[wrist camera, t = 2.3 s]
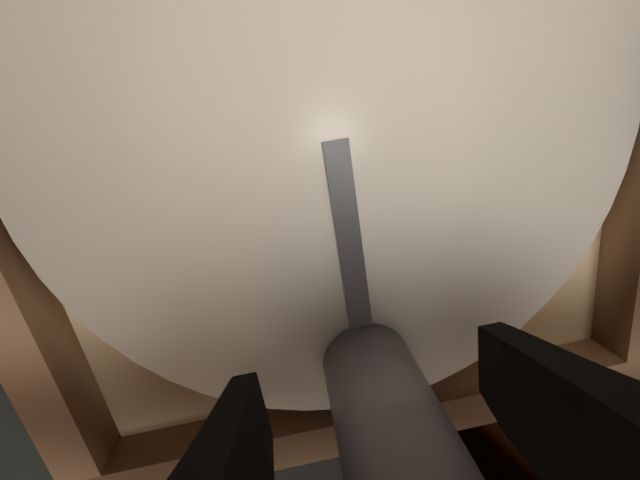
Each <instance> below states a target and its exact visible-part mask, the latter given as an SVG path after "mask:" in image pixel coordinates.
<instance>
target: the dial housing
mask: <svg viewBox="0 0 640 480" xmlns="http://www.w3.org/2000/svg"><path fill="white" fill-rule="evenodd" d="M520 330H522V331H525V332H527V333H529V334H531V335H534V336H536V337H538V338H541V339H543V340H545V341H547V342H550V343H552V344H554V345H556V346H559V347H561V348H563V349H565V350H568V351H570V352H572V353H574V354H577V355H579V356H581V357H584V358H586V359H588V360H591V361H593V362H595V363H598V364H600V365H602V366H605V367H607V368H610V369H612V370H615V371H617V372H620V373H622V374H624V375H627V376H630V377H632V378H635V379H637V380H640V123H639V128H638V132H637V136H636V139H635V143H634V146H633V150H632V153H631V156H630V160H629V163H628V167H627V170H626V173H625V175H624V177H623V180H622V182H621V185H620V187H619V190H618V192H617V194H616V197H615V199H614V202H613V204H612V207H611V209H610V211H609V213H608V214H607V216H606V218H605V220H604V222H603V224H602V226H601V228H600V229H599V231H598V233H597V235H596V237H595V239H594V241H593V242H592V244H591V245H590V247H589V248H588V250H587V251H586V253H585V254H584V256H583V257H582V259H581V260H580V262H579V263H578V265H577V266H576V268H575V269H574V271H573V272H572V274H571V275H570V276H569V277H568V278H567V280H566V281H565V282H564V283H563V284H562V286H561V287H560V288H559V289H558V290H557V292H556V293H555V294H554V295H553V296H552V298H551V299H550V300H549V301H548V302H547V303H546V304H545V305H544V306H543V307H542V308H541V309H540V310H539V311H538V312H537V313H536V314H535V315H534V316H533V317H532V318H531V319H530V320H529V321H528V322H527V323H526V324H525V325H524V326H523V327H522V328H521V329H520ZM0 383H1V385H2V387H3V389H4V391H5V392H6V394H7V396H8V398H9V400H10V401H11V403H12V405H13V407H14V409H15V410H16V412H17V414H18V416H19V418H20V420H21V421H22V423H23V425H24V427H25V429H26V430H27V432H28V434H29V436H30V438H31V440H32V441H33V443H34V445H35V447H36V449H37V450H38V452H39V454H40V456H41V458H42V460H43V461H44V463H45V465H46V467H47V469H48V470H49V472H50V474H51V476H52V478H53V479H54V480H166V479H167V478H168V476H169V475H170V474H171V472H172V471H173V469H174V468H175V466H176V465H177V464H178V462H179V461H180V459H181V458H182V456H183V455H184V453H185V452H186V450H187V449H188V447H189V445H190V444H191V442H192V441H193V439H194V438H195V436H196V434H197V433H198V431H199V430H200V428H201V427H202V425H203V424H204V422H205V420H206V419H207V417H208V415H209V414H210V412H211V410H212V409H213V407H214V405H215V404H216V402H217V400H218V399H219V398H216V397H212V396H208V395H205V394H201V393H199V392H196V391H194V390H191V389H189V388H186V387H184V386H181V385H179V384H176V383H174V382H171V381H169V380H167V379H165V378H163V377H161V376H159V375H157V374H155V373H154V372H152V371H150V370H148V369H146V368H144V367H142V366H141V365H139V364H137V363H135V362H133V361H132V360H130V359H129V358H127V357H126V356H124V355H123V354H122V353H120V352H119V351H117V350H116V349H114V348H113V347H111V346H110V345H109V344H107V343H106V342H104V341H103V340H101V339H100V338H99V337H98V336H97V335H95V334H94V333H93V332H92V331H91V330H90V329H89V328H87V327H86V326H85V325H84V324H83V323H82V322H81V321H79V320H78V319H77V318H76V317H75V316H74V315H73V314H72V313H70V312H69V311H68V310H67V309H66V307H65V306H64V305H63V304H62V303H61V302H60V301H59V300H58V299H57V297H56V296H55V295H54V294H53V293H52V292H51V291H50V290H49V289H48V288H47V286H46V285H45V284H44V283H43V282H42V281H41V280H40V279H39V277H38V276H37V274H36V273H35V272H34V270H33V269H32V267H31V266H30V264H29V263H28V262H27V260H26V259H25V257H24V256H23V255H22V253H21V252H20V250H19V249H18V248H17V246H16V245H15V243H14V242H13V240H12V238H11V237H10V235H9V233H8V231H7V229H6V227H5V225H4V224H3V222H2V220H1V218H0ZM430 386H431V388H432V390H433V391H434V393H435V395H436V396H437V398H438V400H439V402H440V403H441V405H442V407H443V408H444V410H445V412H446V414H447V415H448V417H449V419H450V420H451V422H452V424H453V426H454V427H455V429H456V431H459V430H463V429H468V428H472V427H477V426H482V425H486V424H491V423H495V422H497V421H496V419H495V417H494V416H493V414H492V412H491V411H490V409H489V407H488V405H487V404H486V402H485V400H484V398H483V397H482V395H481V393H480V391H479V375H478V360H477V361H475V362H474V363H472V364H471V365H469V366H468V367H466V368H464V369H462V370H460V371H458V372H456V373H454V374H452V375H450V376H448V377H446V378H444V379H442V380H440V381H438V382H436V383H434V384H432V385H430ZM266 410H267V414H268V418H269V421H270V425H271V429H272V433H273V451H274V471H278V470H282V469H287V468H291V467H296V466H300V465H305V464H309V463H314V462H318V461H323V460H327V459H332V458H337V457H339V453H338V448H337V442H336V436H335V431H334V425H333V420H332V414H331V409H328V410H309V411H301V410H283V409H269V408H266Z"/></svg>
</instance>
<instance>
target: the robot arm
mask: <svg viewBox="0 0 640 480" xmlns="http://www.w3.org/2000/svg"><path fill="white" fill-rule="evenodd" d="M478 375H479V391H480V393H481V395H482V397H483V398H484V400H485V402H486V404H487V405H488V407H489V409H490V411H491V412H492V414H493V416H494V417H495V419H496V421H497V422H498V424H499V425H500V427H501V429H502V430H503V431H504V433H505V434H506V435H507V437H508V438H509V440H510V441H511V442H512V444H513V445H514V446H515V448H516V449H517V450H518V452H519V453H520V454H521V456H522V457H523V458H524V460H525V461H526V462H527V464H528V465H529V466H530V468H531V469H532V470H533V472H534V473H535V474H536V476H537V477H538V478H539V479H540V480H640V380H637V379H635V378H632V377H630V376H627V375H624V374H622V373H620V372H617V371H615V370H612V369H610V368H607V367H605V366H602V365H600V364H598V363H595V362H593V361H591V360H588V359H586V358H584V357H581V356H579V355H577V354H574V353H572V352H570V351H568V350H565V349H563V348H561V347H559V346H556V345H554V344H552V343H550V342H547V341H545V340H543V339H541V338H538V337H536V336H534V335H531V334H529V333H527V332H525V331H522V330H520V329H518V328H515V327H513V326H510V325H508V324H505V323H502V322H496V323H491V324H486V325H482V326H478ZM166 480H274V451H273V433H272V429H271V425H270V421H269V418H268V414H267V410H266V406H265V402H264V399H263V395H262V391H261V387H260V383H259V380H258V376H257V372H252V373H247V374H242V375H238V376H233V377H232V378H231V379H230V380H229V382H228V383H227V385H226V387H225V389H224V390H223V392H222V394H221V395H220V397H219V399H218V400H217V402H216V404H215V405H214V407H213V409H212V410H211V412H210V414H209V415H208V417H207V419H206V420H205V422H204V424H203V425H202V427H201V428H200V430H199V431H198V433H197V434H196V436H195V438H194V439H193V441H192V442H191V444H190V445H189V447H188V449H187V450H186V452H185V453H184V455H183V456H182V458H181V459H180V461H179V462H178V464H177V465H176V466H175V468H174V469H173V471H172V472H171V474H170V475H169V476H168V478H167V479H166Z"/></svg>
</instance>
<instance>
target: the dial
mask: <svg viewBox="0 0 640 480" xmlns="http://www.w3.org/2000/svg"><path fill="white" fill-rule="evenodd" d="M639 123H640V0H0V218H1V220H2V222H3V224H4V225H5V227H6V229H7V231H8V233H9V235H10V237H11V238H12V240H13V242H14V243H15V245H16V246H17V248H18V249H19V250H20V252H21V253H22V255H23V256H24V257H25V259H26V260H27V262H28V263H29V264H30V266H31V267H32V269H33V270H34V272H35V273H36V274H37V276H38V277H39V279H40V280H41V281H42V282H43V283H44V284H45V285H46V286H47V288H48V289H49V290H50V291H51V292H52V293H53V294H54V295H55V296H56V297H57V299H58V300H59V301H60V302H61V303H62V304H63V305H64V306H65V307H66V309H67V310H68V311H69V312H70V313H72V314H73V315H74V316H75V317H76V318H77V319H78V320H79V321H81V322H82V323H83V324H84V325H85V326H86V327H87V328H89V329H90V330H91V331H92V332H93V333H94V334H95V335H97V336H98V337H99V338H100V339H101V340H103V341H104V342H106V343H107V344H109V345H110V346H111V347H113V348H114V349H116V350H117V351H119V352H120V353H122V354H123V355H124V356H126V357H127V358H129V359H130V360H132V361H133V362H135V363H137V364H139V365H141V366H142V367H144V368H146V369H148V370H150V371H152V372H154V373H155V374H157V375H159V376H161V377H163V378H165V379H167V380H169V381H171V382H174V383H176V384H179V385H181V386H184V387H186V388H189V389H191V390H194V391H196V392H199V393H201V394H205V395H208V396H212V397H216V398H219V397H220V395H221V394H222V392H223V390H224V389H225V387H226V385H227V383H228V382H229V380H230V379H231V378H232V377H233V376H238V375H242V374H247V373H252V372H257V376H258V380H259V383H260V387H261V391H262V395H263V399H264V402H265V406H266V408H269V409H283V410H301V411H309V410H328V409H331V414H332V420H333V425H334V431H335V436H336V442H337V448H338V453H339V459H340V464H341V470H342V476H343V480H485V479H484V477H483V475H482V473H481V472H480V470H479V468H478V467H477V465H476V463H475V461H474V460H473V458H472V456H471V455H470V453H469V451H468V450H467V448H466V446H465V444H464V443H463V441H462V439H461V438H460V436H459V434H458V432H457V431H456V429H455V427H454V426H453V424H452V422H451V420H450V419H449V417H448V415H447V414H446V412H445V410H444V408H443V407H442V405H441V403H440V402H439V400H438V398H437V396H436V395H435V393H434V391H433V390H432V388H431V386H430V385H432V384H434V383H436V382H438V381H440V380H442V379H444V378H446V377H448V376H450V375H452V374H454V373H456V372H458V371H460V370H462V369H464V368H466V367H468V366H469V365H471V364H472V363H474V362H475V361H477V360H478V326H482V325H486V324H491V323H496V322H502V323H505V324H508V325H510V326H513V327H515V328H518V329H521V328H522V327H523V326H524V325H525V324H526V323H527V322H528V321H529V320H530V319H531V318H532V317H533V316H534V315H535V314H536V313H537V312H538V311H539V310H540V309H541V308H542V307H543V306H544V305H545V304H546V303H547V302H548V301H549V300H550V299H551V298H552V296H553V295H554V294H555V293H556V292H557V290H558V289H559V288H560V287H561V286H562V284H563V283H564V282H565V281H566V280H567V278H568V277H569V276H570V275H571V274H572V272H573V271H574V269H575V268H576V266H577V265H578V263H579V262H580V260H581V259H582V257H583V256H584V254H585V253H586V251H587V250H588V248H589V247H590V245H591V244H592V242H593V241H594V239H595V237H596V235H597V233H598V231H599V229H600V228H601V226H602V224H603V222H604V220H605V218H606V216H607V214H608V213H609V211H610V209H611V207H612V204H613V202H614V199H615V197H616V194H617V192H618V190H619V187H620V185H621V182H622V180H623V177H624V175H625V173H626V170H627V167H628V163H629V160H630V156H631V153H632V150H633V146H634V143H635V139H636V136H637V132H638V128H639Z"/></svg>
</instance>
